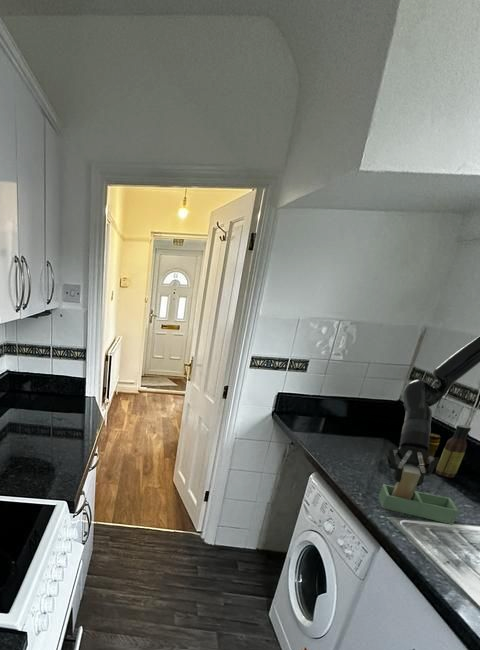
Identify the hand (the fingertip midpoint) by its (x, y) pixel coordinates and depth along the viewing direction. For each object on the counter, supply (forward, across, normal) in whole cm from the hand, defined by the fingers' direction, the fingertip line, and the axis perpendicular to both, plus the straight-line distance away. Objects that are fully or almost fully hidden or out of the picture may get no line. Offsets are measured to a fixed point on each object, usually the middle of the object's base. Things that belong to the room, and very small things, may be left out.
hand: (408, 482), depth 129 cm
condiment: (-32, +14, +45) cm, 57 cm away
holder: (+5, +4, +8) cm, 10 cm away
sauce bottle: (-24, +20, +38) cm, 49 cm away
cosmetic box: (+5, 0, +7) cm, 9 cm away
